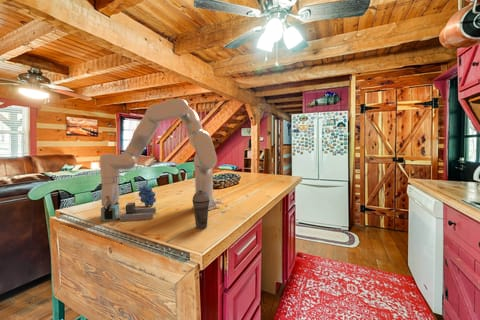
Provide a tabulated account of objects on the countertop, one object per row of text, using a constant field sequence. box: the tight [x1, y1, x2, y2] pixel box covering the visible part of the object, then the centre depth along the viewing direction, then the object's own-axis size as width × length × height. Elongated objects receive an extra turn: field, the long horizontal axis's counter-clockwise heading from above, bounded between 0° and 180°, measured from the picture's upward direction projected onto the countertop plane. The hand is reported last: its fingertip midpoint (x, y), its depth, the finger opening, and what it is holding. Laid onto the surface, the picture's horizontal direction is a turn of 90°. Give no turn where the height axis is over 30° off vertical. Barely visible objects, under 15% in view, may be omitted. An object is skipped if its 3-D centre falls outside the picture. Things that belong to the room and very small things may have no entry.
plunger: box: [116, 201, 136, 220], centre depth 109 cm, size 8×5×6 cm, turn 102°
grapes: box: [138, 184, 157, 207], centre depth 128 cm, size 12×7×12 cm, turn 70°
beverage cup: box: [192, 180, 210, 230], centre depth 96 cm, size 7×7×20 cm
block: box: [100, 203, 120, 222], centre depth 108 cm, size 6×6×6 cm
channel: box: [120, 206, 157, 222], centre depth 111 cm, size 14×11×3 cm
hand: (112, 215), depth 108 cm, fingers open, 9 cm apart
